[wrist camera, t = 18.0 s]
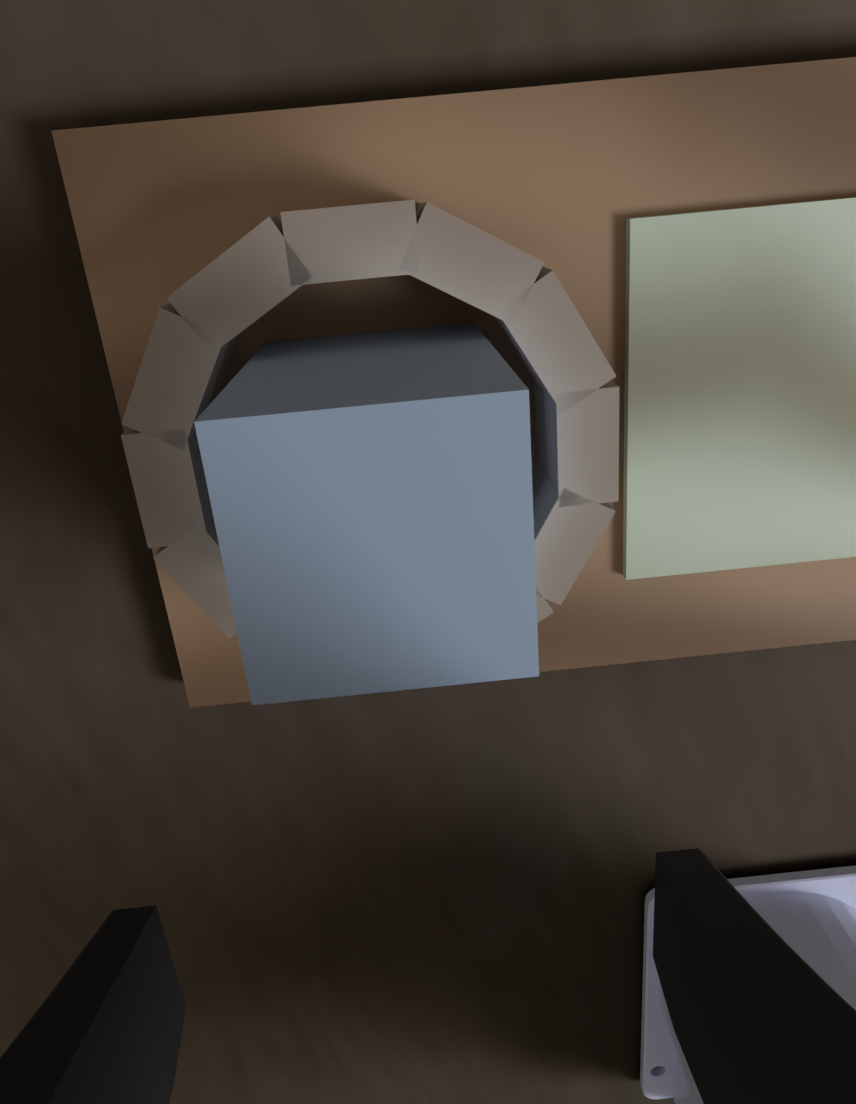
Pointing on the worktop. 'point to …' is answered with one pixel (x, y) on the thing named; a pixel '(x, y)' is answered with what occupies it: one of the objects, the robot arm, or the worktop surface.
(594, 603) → the board
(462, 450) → the peg block
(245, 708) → the worktop surface
